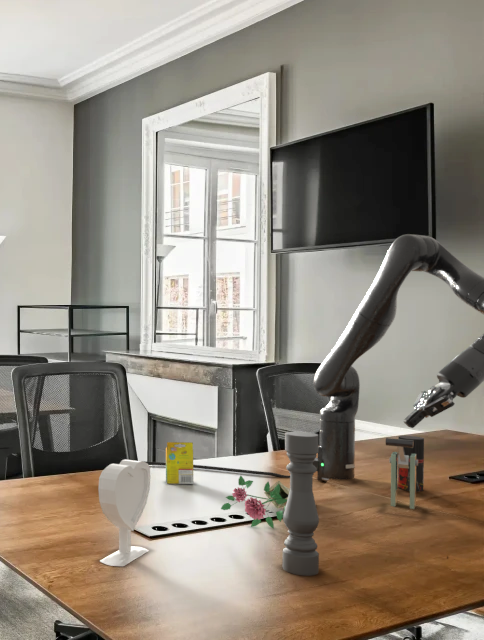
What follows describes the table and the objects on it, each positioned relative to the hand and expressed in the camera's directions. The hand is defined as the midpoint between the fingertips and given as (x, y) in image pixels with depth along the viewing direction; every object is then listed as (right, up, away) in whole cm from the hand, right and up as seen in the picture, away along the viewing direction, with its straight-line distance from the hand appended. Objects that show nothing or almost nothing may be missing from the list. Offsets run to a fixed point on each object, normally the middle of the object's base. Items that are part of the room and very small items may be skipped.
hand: (407, 424), depth 168 cm
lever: (+1, -8, +5) cm, 10 cm away
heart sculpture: (-68, -22, -25) cm, 76 cm away
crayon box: (-43, -22, +38) cm, 61 cm away
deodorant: (+16, -22, +27) cm, 39 cm away
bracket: (+4, -22, +10) cm, 25 cm away
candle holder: (-37, -22, -32) cm, 54 cm away
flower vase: (-30, -22, 0) cm, 37 cm away
